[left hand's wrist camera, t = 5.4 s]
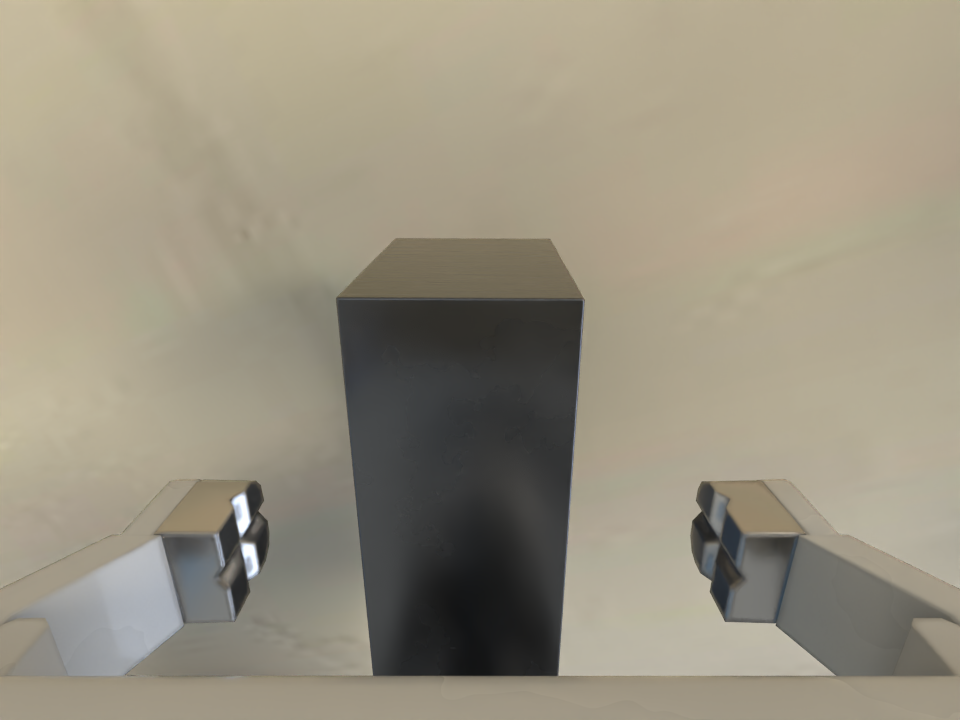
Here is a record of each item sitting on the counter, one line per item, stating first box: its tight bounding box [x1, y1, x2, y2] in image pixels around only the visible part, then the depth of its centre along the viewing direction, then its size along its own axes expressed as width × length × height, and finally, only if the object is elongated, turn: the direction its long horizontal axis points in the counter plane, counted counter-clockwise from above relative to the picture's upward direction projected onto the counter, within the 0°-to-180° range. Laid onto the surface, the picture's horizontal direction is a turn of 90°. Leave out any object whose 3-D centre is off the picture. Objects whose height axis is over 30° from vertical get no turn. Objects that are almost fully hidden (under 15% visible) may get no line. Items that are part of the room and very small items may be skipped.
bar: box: [336, 238, 585, 676], centre depth 20 cm, size 22×6×8 cm, turn 0°
